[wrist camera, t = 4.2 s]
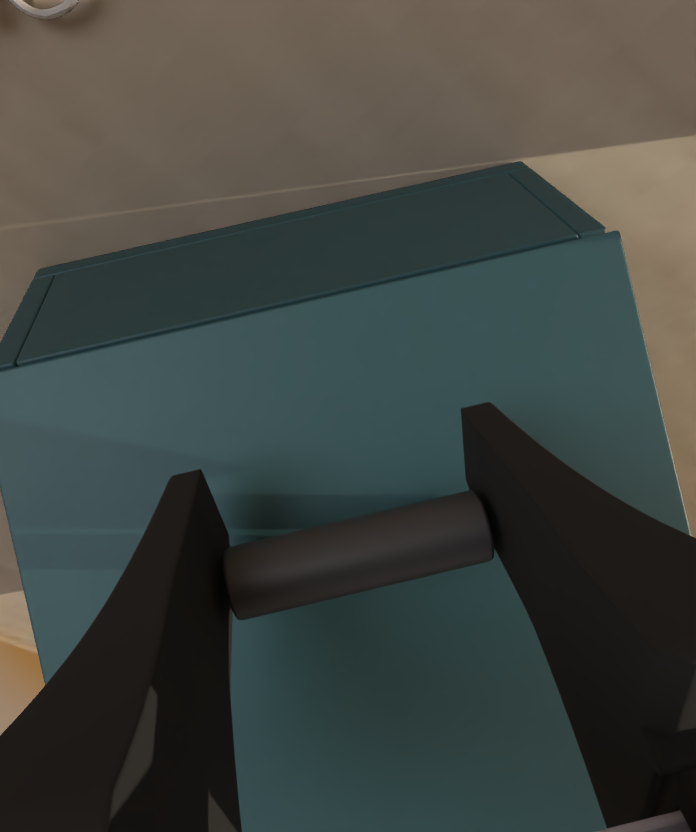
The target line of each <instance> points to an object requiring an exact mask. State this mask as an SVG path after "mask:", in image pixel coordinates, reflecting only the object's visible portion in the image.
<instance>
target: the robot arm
mask: <svg viewBox="0 0 696 832" xmlns="http://www.w3.org/2000/svg"><path fill="white" fill-rule="evenodd" d="M461 421H462V434H463V448H464V462H465V476H466V481H467V484H468V487H469V490H472V491H475V492H476V493H477V494H478V495H479V497H480V499H481V500H482V502H483V505H484V507H485V510H486V512H487V515H488V519H489V522H490V526H491V530H492V534H493V540H494V548H495V550H496V552H497V554H498V556H499V558H500V560H501V562H502V564H503V566H504V568H505V570H506V572H507V574H508V576H509V577H510V579H511V581H512V583H513V585H514V587H515V589H516V591H517V593H518V595H519V597H520V599H521V601H522V603H523V605H524V607H525V609H526V611H527V613H528V615H529V618H530V620H531V622H532V624H533V626H534V629H535V631H536V634H537V636H538V639H539V641H540V644H541V646H542V649H543V652H544V654H545V657H546V659H547V662H548V664H549V667H550V670H551V672H552V675H553V678H554V680H555V683H556V686H557V688H558V691H559V694H560V696H561V699H562V702H563V704H564V707H565V710H566V712H567V715H568V718H569V720H570V723H571V726H572V729H573V732H574V734H575V737H576V740H577V743H578V746H579V748H580V751H581V754H582V757H583V760H584V762H585V765H586V768H587V771H588V774H589V777H590V780H591V783H592V786H593V789H594V792H595V795H596V797H597V800H598V803H599V806H600V809H601V812H602V815H603V818H604V821H605V824H606V827H607V829H603V830H599V831H595V832H696V538H694V537H692V536H690V535H688V534H686V533H683V532H681V531H679V530H677V529H675V528H673V527H671V526H669V525H666V524H664V523H662V522H660V521H658V520H656V519H654V518H652V517H650V516H648V515H647V514H645V513H643V512H641V511H639V510H637V509H636V508H634V507H632V506H630V505H629V504H627V503H625V502H623V501H622V500H620V499H618V498H617V497H615V496H613V495H612V494H610V493H608V492H607V491H605V490H604V489H602V488H601V487H599V486H598V485H596V484H595V483H593V482H592V481H590V480H589V479H587V478H586V477H584V476H583V475H581V474H580V473H578V472H577V471H576V470H574V469H573V468H571V467H570V466H569V465H567V464H566V463H564V462H563V461H562V460H561V459H559V458H558V457H557V456H555V455H554V454H553V453H551V452H550V451H549V450H547V449H546V448H545V447H543V446H542V445H541V444H540V443H538V442H537V441H536V440H535V439H533V438H532V437H531V436H530V435H529V434H527V433H526V432H525V431H524V430H523V429H521V428H520V427H519V426H518V425H517V424H516V423H514V422H513V421H512V420H511V419H510V418H509V417H508V416H506V415H505V414H504V413H503V412H502V411H501V410H500V409H498V408H497V407H496V406H495V405H494V404H492V403H491V402H486V403H482V404H477V405H473V406H469V407H465V408H461ZM228 547H230V539H229V534H228V531H227V529H226V526H225V524H224V522H223V519H222V517H221V515H220V512H219V510H218V508H217V505H216V503H215V500H214V498H213V496H212V493H211V491H210V489H209V486H208V484H207V482H206V479H205V477H204V475H203V472H202V470H201V469H198V470H194V471H190V472H186V473H181V474H177V475H173V476H171V478H170V479H169V481H168V483H167V485H166V487H165V490H164V492H163V494H162V496H161V498H160V501H159V503H158V505H157V507H156V509H155V511H154V514H153V516H152V518H151V520H150V522H149V524H148V526H147V528H146V530H145V532H144V534H143V536H142V538H141V540H140V542H139V544H138V546H137V548H136V550H135V552H134V554H133V556H132V558H131V559H130V561H129V563H128V565H127V567H126V569H125V570H124V572H123V574H122V575H121V577H120V579H119V581H118V582H117V584H116V586H115V587H114V589H113V591H112V593H111V594H110V596H109V598H108V599H107V601H106V603H105V604H104V606H103V607H102V609H101V610H100V612H99V614H98V615H97V617H96V618H95V620H94V621H93V623H92V624H91V626H90V627H89V628H88V630H87V631H86V633H85V634H84V636H83V637H82V638H81V640H80V641H79V643H78V644H77V645H76V647H75V648H74V649H73V651H72V652H71V653H70V655H69V656H68V657H67V659H66V660H65V661H64V663H63V664H62V665H61V666H60V668H59V669H58V670H57V671H56V673H55V674H54V675H53V676H52V678H51V679H50V680H49V681H48V683H47V684H46V685H45V686H44V688H43V689H42V690H41V691H40V692H39V694H38V695H37V696H36V697H35V698H34V699H33V700H32V702H31V703H30V704H29V705H28V706H27V707H26V708H25V709H24V711H23V712H22V713H21V714H20V715H19V716H18V717H17V718H16V719H15V721H14V722H13V723H12V724H11V725H10V726H9V727H8V728H7V729H6V730H5V731H4V732H3V733H2V735H1V736H0V832H242V827H241V817H240V808H239V798H238V787H237V775H236V763H235V752H234V738H233V724H232V710H231V650H232V619H233V611H232V609H231V607H230V604H229V601H228V597H227V593H226V589H225V583H224V576H223V555H224V551H225V550H226V549H227V548H228Z"/></svg>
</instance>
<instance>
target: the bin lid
mask: <svg viewBox="0 0 696 832" xmlns="http://www.w3.org/2000/svg"><path fill="white" fill-rule="evenodd" d="M486 402H491V403H492V404H494V405H495V406H496V407H497V408H498V409H500V410H501V411H502V412H503V413H504V414H505V415H506V416H508V417H509V418H510V419H511V420H512V421H513V422H514V423H516V424H517V425H518V426H519V427H520V428H521V429H523V430H524V431H525V432H526V433H527V434H529V435H530V436H531V437H532V438H533V439H535V440H536V441H537V442H538V443H540V444H541V445H542V446H543V447H545V448H546V449H547V450H549V451H550V452H551V453H553V454H554V455H555V456H557V457H558V458H559V459H561V460H562V461H563V462H564V463H566V464H567V465H569V466H570V467H571V468H573V469H574V470H576V471H577V472H578V473H580V474H581V475H583V476H584V477H586V478H587V479H589V480H590V481H592V482H593V483H595V484H596V485H598V486H599V487H601V488H602V489H604V490H605V491H607V492H608V493H610V494H612V495H613V496H615V497H617V498H618V499H620V500H622V501H623V502H625V503H627V504H629V505H630V506H632V507H634V508H636V509H637V510H639V511H641V512H643V513H645V514H647V515H648V516H650V517H652V518H654V519H656V520H658V521H660V522H662V523H664V524H666V525H669V526H671V527H673V528H675V529H677V530H679V531H681V532H683V533H686V534H688V535H690V536H691V532H690V528H689V523H688V519H687V515H686V511H685V507H684V502H683V498H682V494H681V490H680V485H679V481H678V477H677V473H676V469H675V464H674V460H673V456H672V452H671V447H670V443H669V439H668V435H667V431H666V426H665V422H664V418H663V414H662V410H661V405H660V401H659V397H658V393H657V388H656V384H655V380H654V376H653V372H652V367H651V363H650V359H649V355H648V350H647V346H646V342H645V338H644V334H643V329H642V325H641V321H640V317H639V313H638V308H637V304H636V300H635V296H634V291H633V287H632V283H631V279H630V275H629V270H628V266H627V262H626V258H625V253H624V249H623V245H622V241H621V237H620V233H619V231H612V232H608V233H604V234H599V235H595V236H590V237H586V238H582V239H577V240H573V241H568V242H564V243H560V244H555V245H551V246H546V247H542V248H538V249H533V250H529V251H525V252H520V253H516V254H511V255H507V256H503V257H498V258H494V259H489V260H485V261H481V262H476V263H472V264H467V265H463V266H459V267H454V268H450V269H445V270H441V271H437V272H432V273H428V274H424V275H419V276H415V277H410V278H406V279H402V280H397V281H393V282H388V283H384V284H380V285H375V286H371V287H366V288H362V289H358V290H353V291H349V292H344V293H340V294H336V295H331V296H327V297H323V298H318V299H314V300H309V301H305V302H301V303H296V304H292V305H287V306H283V307H279V308H274V309H270V310H265V311H261V312H257V313H252V314H248V315H243V316H239V317H235V318H230V319H226V320H222V321H217V322H213V323H208V324H204V325H200V326H195V327H191V328H186V329H182V330H178V331H173V332H169V333H164V334H160V335H156V336H151V337H147V338H142V339H138V340H134V341H129V342H125V343H121V344H116V345H112V346H107V347H103V348H99V349H94V350H90V351H85V352H81V353H77V354H72V355H68V356H63V357H59V358H55V359H50V360H46V361H41V362H37V363H33V364H28V365H24V366H20V367H15V368H11V369H6V370H2V371H0V488H1V492H2V497H3V501H4V506H5V510H6V514H7V519H8V523H9V528H10V532H11V536H12V541H13V545H14V550H15V554H16V558H17V563H18V567H19V572H20V576H21V580H22V585H23V589H24V594H25V598H26V602H27V607H28V611H29V616H30V620H31V624H32V629H33V633H34V638H35V642H36V646H37V651H38V655H39V659H40V664H41V668H42V673H43V677H44V682H45V685H46V684H47V683H48V681H49V680H50V679H51V678H52V676H53V675H54V674H55V673H56V671H57V670H58V669H59V668H60V666H61V665H62V664H63V663H64V661H65V660H66V659H67V657H68V656H69V655H70V653H71V652H72V651H73V649H74V648H75V647H76V645H77V644H78V643H79V641H80V640H81V638H82V637H83V636H84V634H85V633H86V631H87V630H88V628H89V627H90V626H91V624H92V623H93V621H94V620H95V618H96V617H97V615H98V614H99V612H100V610H101V609H102V607H103V606H104V604H105V603H106V601H107V599H108V598H109V596H110V594H111V593H112V591H113V589H114V587H115V586H116V584H117V582H118V581H119V579H120V577H121V575H122V574H123V572H124V570H125V569H126V567H127V565H128V563H129V561H130V559H131V558H132V556H133V554H134V552H135V550H136V548H137V546H138V544H139V542H140V540H141V538H142V536H143V534H144V532H145V530H146V528H147V526H148V524H149V522H150V520H151V518H152V516H153V514H154V511H155V509H156V507H157V505H158V503H159V501H160V498H161V496H162V494H163V492H164V490H165V487H166V485H167V483H168V481H169V479H170V478H171V476H173V475H177V474H181V473H186V472H190V471H194V470H198V469H201V470H202V472H203V475H204V477H205V479H206V482H207V484H208V486H209V489H210V491H211V493H212V496H213V498H214V500H215V503H216V505H217V508H218V510H219V512H220V515H221V517H222V519H223V522H224V524H225V526H226V529H227V531H228V534H229V539H230V547H228V548H227V549H226V550H225V551H224V555H223V576H224V583H225V589H226V593H227V597H228V601H229V604H230V607H231V609H232V611H233V619H232V650H231V710H232V724H233V738H234V752H235V763H236V775H237V787H238V798H239V808H240V817H241V827H242V832H595V831H599V830H603V829H607V827H606V824H605V821H604V818H603V815H602V812H601V809H600V806H599V803H598V800H597V797H596V795H595V792H594V789H593V786H592V783H591V780H590V777H589V774H588V771H587V768H586V765H585V762H584V760H583V757H582V754H581V751H580V748H579V746H578V743H577V740H576V737H575V734H574V732H573V729H572V726H571V723H570V720H569V718H568V715H567V712H566V710H565V707H564V704H563V702H562V699H561V696H560V694H559V691H558V688H557V686H556V683H555V680H554V678H553V675H552V672H551V670H550V667H549V664H548V662H547V659H546V657H545V654H544V652H543V649H542V646H541V644H540V641H539V639H538V636H537V634H536V631H535V629H534V626H533V624H532V622H531V620H530V618H529V615H528V613H527V611H526V609H525V607H524V605H523V603H522V601H521V599H520V597H519V595H518V593H517V591H516V589H515V587H514V585H513V583H512V581H511V579H510V577H509V576H508V574H507V572H506V570H505V568H504V566H503V564H502V562H501V560H500V558H499V556H498V554H497V552H496V550H495V548H494V540H493V534H492V530H491V526H490V522H489V519H488V515H487V512H486V510H485V507H484V505H483V502H482V500H481V499H480V497H479V495H478V494H477V493H476V492H475V491H472V490H469V487H468V484H467V481H466V476H465V462H464V448H463V434H462V421H461V408H465V407H469V406H473V405H477V404H482V403H486Z"/></svg>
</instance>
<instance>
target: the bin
mask: <svg viewBox="0 0 696 832" xmlns="http://www.w3.org/2000/svg"><path fill="white" fill-rule="evenodd" d="M604 233H606V228H605V227H604V226H603V225H602V224H600V223H599V222H598V221H597V220H595V219H594V218H593V217H591V216H590V215H589V214H588V213H586V212H585V211H584V210H583V209H581V208H580V207H579V206H578V205H576V204H575V203H574V202H572V201H571V200H570V199H569V198H567V197H566V196H565V195H564V194H562V193H561V192H560V191H559V190H557V189H556V188H555V187H553V186H552V185H551V184H550V183H548V182H547V181H546V180H545V179H543V178H542V177H541V176H539V175H538V174H537V173H536V172H534V171H533V170H532V169H531V168H528V166H527V165H525V164H524V163H523V162H515V163H511V164H506V165H502V166H497V167H493V168H488V169H484V170H479V171H475V172H471V173H466V174H462V175H457V176H453V177H448V178H444V179H439V180H435V181H430V182H426V183H421V184H417V185H413V186H408V187H404V188H399V189H395V190H390V191H386V192H381V193H377V194H372V195H368V196H364V197H359V198H355V199H350V200H346V201H341V202H337V203H332V204H328V205H323V206H319V207H314V208H310V209H306V210H301V211H297V212H292V213H288V214H283V215H279V216H274V217H270V218H265V219H261V220H257V221H252V222H248V223H243V224H239V225H234V226H230V227H225V228H221V229H216V230H212V231H207V232H203V233H199V234H194V235H190V236H185V237H181V238H176V239H172V240H167V241H163V242H158V243H154V244H150V245H145V246H141V247H136V248H132V249H127V250H123V251H118V252H114V253H109V254H105V255H100V256H96V257H92V258H87V259H83V260H78V261H74V262H69V263H65V264H60V265H56V266H51V267H47V268H43V269H39V270H38V271H37V273H36V275H35V277H34V280H32V282H31V284H30V286H29V288H28V290H27V292H26V294H25V296H24V298H23V300H22V302H21V304H20V306H19V308H18V310H17V311H16V313H15V315H14V317H13V319H12V321H11V323H10V325H9V327H8V329H7V331H6V333H5V335H4V337H3V339H2V341H1V342H0V371H2V370H6V369H11V368H15V367H20V366H24V365H28V364H33V363H37V362H41V361H46V360H50V359H55V358H59V357H63V356H68V355H72V354H77V353H81V352H85V351H90V350H94V349H99V348H103V347H107V346H112V345H116V344H121V343H125V342H129V341H134V340H138V339H142V338H147V337H151V336H156V335H160V334H164V333H169V332H173V331H178V330H182V329H186V328H191V327H195V326H200V325H204V324H208V323H213V322H217V321H222V320H226V319H230V318H235V317H239V316H243V315H248V314H252V313H257V312H261V311H265V310H270V309H274V308H279V307H283V306H287V305H292V304H296V303H301V302H305V301H309V300H314V299H318V298H323V297H327V296H331V295H336V294H340V293H344V292H349V291H353V290H358V289H362V288H366V287H371V286H375V285H380V284H384V283H388V282H393V281H397V280H402V279H406V278H410V277H415V276H419V275H424V274H428V273H432V272H437V271H441V270H445V269H450V268H454V267H459V266H463V265H467V264H472V263H476V262H481V261H485V260H489V259H494V258H498V257H503V256H507V255H511V254H516V253H520V252H525V251H529V250H533V249H538V248H542V247H546V246H551V245H555V244H560V243H564V242H568V241H573V240H577V239H582V238H586V237H590V236H595V235H599V234H604Z"/></svg>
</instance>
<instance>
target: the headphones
mask: <svg viewBox="0 0 696 832" xmlns="http://www.w3.org/2000/svg"><path fill="white" fill-rule="evenodd" d="M9 1H10V2H11V3H13V4H14V5H15V6H16V7H17V8H18V9H19V10H21V11H22V12H24V13H26V14H27V15H29V16H31V17H34V18H38V19H53V18H57V17H61V16H63V15H64V14H66V13H68V12H70V11H71V10H72V9H73V8H74V7H75V6H76V5H77V3H78V1H79V0H65V1H64V2H62V3H61V4H60V5H58V6H55V7H53V8H50V9H38V8H35V7H31V6H30V5H28V4H27V3H25V2H23V1H22V0H9Z"/></svg>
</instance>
